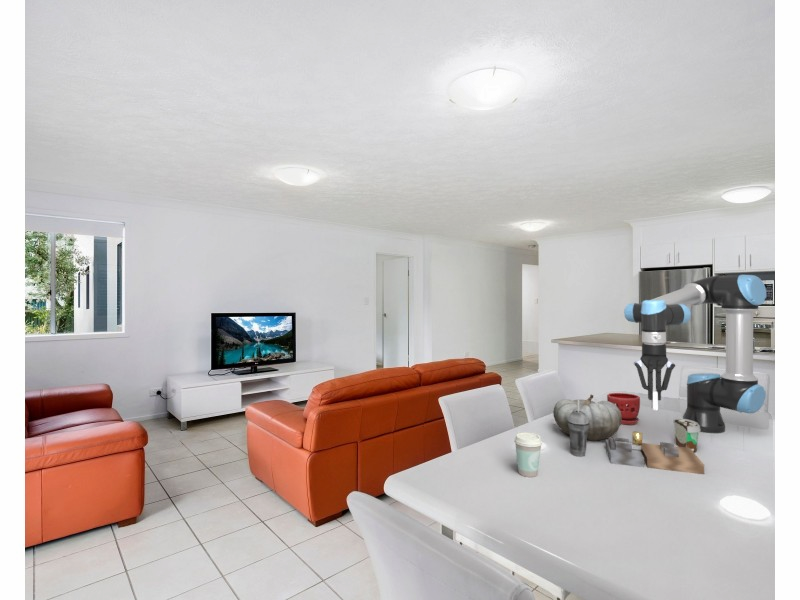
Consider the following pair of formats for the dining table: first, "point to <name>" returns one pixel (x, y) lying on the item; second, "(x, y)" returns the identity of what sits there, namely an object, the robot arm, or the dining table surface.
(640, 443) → the bolt
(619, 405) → the plant pot
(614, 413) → the gourd
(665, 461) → the door board
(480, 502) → the dining table surface
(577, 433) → the beverage cup
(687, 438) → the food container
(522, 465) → the coffee cup
